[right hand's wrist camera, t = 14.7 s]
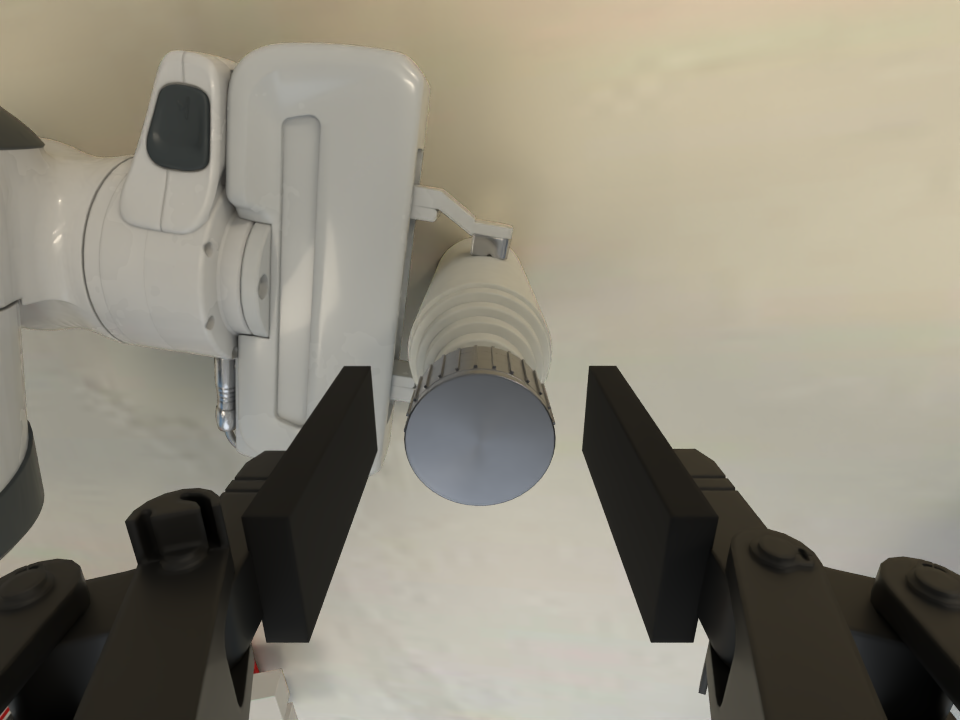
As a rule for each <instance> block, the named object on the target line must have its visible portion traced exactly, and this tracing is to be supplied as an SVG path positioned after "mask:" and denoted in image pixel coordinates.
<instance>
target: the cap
mask: <svg viewBox="0 0 960 720" xmlns="http://www.w3.org/2000/svg"><path fill="white" fill-rule="evenodd" d="M406 416H408V418H407V421H406V425H405V428H404V432H405V437H404V442H405V450H406V455H407V458H408V461H409V463H410V465H411V467H412V469H413V471H414V473H415V474H416V475H417V477H418V478H419V479H420V480H421V481H422V482H423V483H424V484H425V485H426V486H427V487H428V488H429V489H431V490H432V491H433V492H435V493H436V494H438V495H440V496H441V497H444V498H446V499H448V500H451V501H454V502H457V503H461V504H465V505H474V506H486V505H495V504H499V503H503V502H506V501H509V500H512V499H514V498H516V497H518V496H520V495H522V494H523V493H525V492H526V491H528V490H529V489H530V488H532V487H533V486H534V485H535V484H536V483H537V482H538V481H539V480H540V479H541V478H542V476H543V475H544V473H545V472H546V470H547V469H548V467H549V465H550V463H551V460H552V457H553V454H554V449H555V429H554V425H555V421H554V417H553V414H552V410H551V407H550V403H549V400H548V396H547V393H546V390H545V386H544V384H543V383H542V384H541V382H540V380H539V378H538V376H537V372H536V371H535V370H534V371H533V370H532V369H531V367H530V366H529V365H527V364H526V362H525V360H524V359H522V360H521V359H520V358H519V357H517V356H515V355H513V354H512V353H511V352H510V351H508V352H507V351H504V350H502V349H498V348H495V347H494V346H492V347H486V346H477V345H474V346H473V347H466V348H462V349H461V348H457V350H455V351H453V352H450V353H448V354H446V355H445V354H443V355H442V357H441V358H440V359H438V360H437V361H436V362H434V363H433V364H430V365H429V367H428V369H427V371H426V372H425V373H424V375H423V376H420V377H419V380H418V384H417V387H416V390H414V391H413V394H412V398H411V401H410V405H409V408H408V411H407V415H406Z"/></svg>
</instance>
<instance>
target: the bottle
mask: <svg viewBox="0 0 960 720" xmlns="http://www.w3.org/2000/svg"><path fill="white" fill-rule="evenodd" d="M472 238H473V237H471V238H467V239H464V240H461V241H459V242H458V243H456V244H454V245H453V246H452V247H450V248H449V249H448V250H447V251H446V252H445V254H444V255H443V256H442V258H441V260H440V262H439V264H438V266H437V269H436V271H435V274H434V276H433V278H432V281H431V283H430V285H429V288H428V290H427V293H426V295H425V297H424V300H423V302H422V305H421V307H420V309H419V312H418V314H417V316H416V319H415V321H414V324H413V326H412V328H411V331H410V335H409V340H408V360H409V365H410V369H411V373H412V377H413V380H414V382H415V384H416V386H417V384H418V380H419V377H420V376H423V375H424V373H425V372H426V371H427V369H428V367H429V365H430V364H433V363H434V362H436V361H437V360H438V359H440V358H441V357H442V355H443V354H445V355H446V354H448V353H450V352H453V351H455V350H457V348H461V349H462V348H466V347H473V346H474V345H477V346H486V347H492V346H494V347H495V348H498V349H502V350H504V351H507V352H508V351H510V352H511V353H512V354H513V355H515V356H517V357H519V358H520V359H521V360H522V359H524V360H525V362H526V364H527V365H529V366H530V367H531V369H532V370H533V371H534V370H535V371H536V372H537V376H538V378H539V380H540V382H541V384H542V383H543V384H545V381H546V379H547V376H548V372H549V368H550V364H551V358H552V342H551V337H550V332H549V330H548V327H547V324H546V322H545V319H544V317H543V314H542V312H541V310H540V307H539V305H538V303H537V300H536V298H535V296H534V293H533V291H532V288H531V286H530V284H529V281H528V279H527V277H526V274H525V272H524V269H523V267H522V265H521V263H520V261H519V259H518V257H517V256H516V254H515V253H514V252H513V251H512V250H511V249H510V248H509V253H508V258H507V259H506V260H502V259H497V258H493V257H492V256H491V255H490V254H489V255H487V256H477V255H472V254H470V253H471V245H472Z"/></svg>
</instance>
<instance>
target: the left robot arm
mask: <svg viewBox="0 0 960 720" xmlns="http://www.w3.org/2000/svg"><path fill="white" fill-rule="evenodd" d="M430 94H431V91H430V85H429V83H428V81H427V79H426V77H425V75H424V74H423V72H422V71H421V69H420V68H419V67H418V65H417V64H416V63H415V62H414V61H413V60H412V59H411V58H410V57H408V56H407V55H405V54H403V53H400V52H396V51H392V50H387V49H382V48H375V47H367V46H359V45H348V44H336V43H313V42H287V43H275V44H269V45H265V46H262V47H259V48H257V49H255V50H253V51H251V52H249V53H248V54H246V55H245V56H244V57H243V58H242V59H241V60H240V61H239V63H237V62H234V61H231V60H229V59H226V58H223V57H219V56H215V55H211V54H207V53H202V52H195V51H186V50H173V51H170V52H168V53H167V54H166V55H165V56H164V57H163V59H162V60H161V62H160V64H159V67H158V70H157V73H156V77H155V81H154V85H153V89H152V93H151V97H150V101H149V105H148V109H147V113H146V117H145V120H144V124H143V128H142V131H141V135H140V138H139V141H138V145H137V148H136V151H135V154H134V155H124V156H116V157H98V156H93V155H90V154H87V153H85V152H82V151H81V150H78V149H76V148H74V147H72V146H69V145H67V144H64V143H61V142H58V141H55V140H51V139H46V138H41V137H38V136H37V135H36V134H35V133H34V132H33V131H32V130H30V129H29V128H28V127H27V126H26V125H25V124H23V123H22V122H21V121H20V120H18V119H17V118H16V117H14V116H13V115H12V114H10V113H9V112H8V111H6V110H5V109H3V108H2V107H1V106H0V560H1V559H2V558H3V557H4V556H5V555H6V554H7V553H8V552H9V551H10V550H11V549H12V548H13V547H14V546H15V545H16V544H17V543H18V542H19V541H20V539H21V538H22V537H23V536H24V535H25V534H26V533H27V532H28V530H29V529H30V528H31V527H32V525H33V524H34V522H35V521H36V519H37V518H38V516H39V514H40V512H41V509H42V506H43V503H44V489H43V484H42V479H41V473H40V468H39V463H38V458H37V453H36V447H35V442H34V437H33V432H32V429H31V426H30V423H29V421H28V420H27V408H26V394H25V380H24V367H23V353H22V339H21V328H24V329H31V330H42V331H55V330H65V329H74V328H80V329H86V330H90V331H93V332H96V333H98V334H100V335H102V336H104V337H106V338H109V339H111V340H114V341H117V342H120V343H125V344H131V345H136V346H143V347H150V348H156V349H163V350H169V351H176V352H183V353H190V354H197V355H203V356H210V357H214V367H215V385H216V390H217V406H216V422H217V426H218V429H219V430H221V431H225V434H226V437H227V438H228V440H229V441H230V443H231V444H232V445H233V446H234V447H235V448H236V450H237V451H238V452H239V453H240V454H242V455H245V456H248V457H256V456H257V455H259V454H260V453H262V452H264V451H286V450H287V449H288V447H289V446H290V444H291V443H292V441H293V440H294V438H295V437H296V436H297V434H298V433H299V431H300V430H301V428H302V427H303V425H304V424H305V422H306V421H307V419H308V418H309V416H310V415H311V413H312V412H313V411H314V409H315V408H316V406H317V405H318V403H319V402H320V400H321V399H322V397H323V396H324V394H325V393H326V391H327V390H328V388H329V387H330V386H331V384H332V383H333V381H334V380H335V378H336V377H337V375H338V374H339V372H340V371H341V369H342V368H343V366H371V374H372V386H373V398H374V410H375V422H376V434H377V447H378V451H377V454H376V457H375V460H374V463H373V465H372V468H371V471H370V474H369V476H371V475H373V474H375V473H377V472H379V471H380V469H381V467H382V465H383V462H384V460H385V457H386V454H387V450H388V447H389V443H390V436H391V427H392V419H393V410H394V402H395V400H396V401H403V402H410V401H411V398H412V394H413V391H414V390H416V387H417V386H416V384H415V382H414V380H413V377H412V373H411V369H410V365H409V361H403V360H399V359H400V350H401V342H402V333H403V325H404V316H405V308H406V299H407V291H408V282H409V274H410V265H411V256H412V248H413V239H414V231H415V222H416V220H423V221H429V222H434V221H435V220H436V219H437V218H438V217H439V216H440V211H441V212H442V213H444V214H445V215H446V216H447V217H448V218H450V219H451V220H452V221H453V222H455V223H456V224H457V225H458V226H460V227H461V228H462V229H463V230H464V231H466V232H467V233H468V234H469V235H471V236H472V235H473V238H472V245H471V253H470V254H472V255H477V256H487V255H489V254H490V255H491V256H492V257H493V258H497V259H502V260H506V259H507V258H508V253H509V248H510V243H511V237H512V232H513V227H512V226H511V225H508V224H504V223H498V222H492V221H487V220H481V219H475V215H474V214H473V213H471V212H470V211H469V210H468V209H467V208H466V207H464V206H463V205H462V204H461V203H460V202H459V201H457V200H456V199H455V198H454V197H453V196H451V195H450V194H449V193H448V192H447V191H446V190H444V189H442V188H436V187H430V186H425V185H420V180H421V171H422V162H423V154H424V145H425V137H426V128H427V120H428V111H429V102H430ZM235 429H236V436H235V434H234V432H233V430H235Z"/></svg>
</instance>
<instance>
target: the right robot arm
mask: <svg viewBox="0 0 960 720" xmlns="http://www.w3.org/2000/svg"><path fill="white" fill-rule="evenodd" d="M377 451H378V447H377V434H376V422H375V410H374V398H373V386H372V374H371V366H343V368H342V369H341V371H340V372H339V374H338V375H337V377H336V378H335V380H334V381H333V383H332V384H331V386H330V387H329V388H328V390H327V391H326V393H325V394H324V396H323V397H322V399H321V400H320V402H319V403H318V405H317V406H316V408H315V409H314V411H313V412H312V413H311V415H310V416H309V418H308V419H307V421H306V422H305V424H304V425H303V427H302V428H301V430H300V431H299V433H298V434H297V436H296V437H295V438H294V440H293V441H292V443H291V444H290V446H289V447H288V449H287V450H286V451H264V452H262V453H260V454H259V455H257V456H256V457H254V458H253V459H251V460H250V461H248V462H247V463H246V464H245V465H244V466H243V468H242V469H241V470H240V471H239V473H238V474H237V475H236V476H235V480H232V482H231V483H230V484H229V485H228V487H227V488H226V489H225V492H223V493H222V494H221V496H220V497H219V496H218V495H217V494H215V493H214V492H213V491H211V490H206V489H201V488H193V489H181V490H178V491H174V492H170V493H166V494H163V495H161V496H159V497H156V498H154V499H152V500H149V501H147V502H146V503H145V504H143V505H142V506H140V507H139V508H137V509H136V510H134V511H133V512H132V514H131V515H130V516H129V517H128V519H127V520H126V521H125V523H126V527H127V530H128V533H129V537H130V540H131V543H132V546H133V550H134V553H135V556H136V560H137V563H138V566H137V568H136V569H133V570H130V571H126V572H121V573H117V574H112V575H108V576H103V577H98V578H94V579H89V580H85V579H84V576H83V573H82V570H81V567H80V566H79V565H78V564H77V563H75V562H74V561H72V560H65V559H53V560H47V561H41V562H37V563H33V564H30V565H28V566H24V567H21V568H19V569H16V570H14V571H13V572H11V573H9V574H7V575H5V576H3V577H1V578H0V715H1V714H2V713H3V711H4V710H5V709H6V708H7V706H8V708H9V710H10V712H11V714H10V715H9V716H8V718H7V719H6V720H249V713H250V703H251V693H252V683H253V673H254V663H255V661H254V655H253V649H252V644H251V641H252V639H253V637H254V635H255V633H256V631H257V628H258V626H259V624H260V622H261V620H262V622H263V627H264V632H265V637H266V642H267V643H309V641H310V638H311V635H312V633H313V630H314V627H315V624H316V621H317V619H318V616H319V613H320V610H321V607H322V605H323V602H324V599H325V596H326V594H327V591H328V588H329V585H330V582H331V580H332V577H333V574H334V571H335V568H336V566H337V563H338V560H339V557H340V555H341V552H342V549H343V546H344V543H345V541H346V538H347V535H348V532H349V529H350V527H351V524H352V521H353V518H354V516H355V513H356V510H357V507H358V504H359V502H360V499H361V496H362V493H363V490H364V488H365V485H366V482H367V479H368V477H369V474H370V471H371V468H372V465H373V463H374V460H375V457H376V454H377ZM582 451H583V454H584V457H585V460H586V463H587V465H588V468H589V471H590V474H591V477H592V479H593V482H594V485H595V488H596V490H597V493H598V496H599V499H600V502H601V504H602V507H603V510H604V513H605V516H606V518H607V521H608V524H609V527H610V529H611V532H612V535H613V538H614V541H615V543H616V546H617V549H618V552H619V555H620V557H621V560H622V563H623V566H624V568H625V571H626V574H627V577H628V580H629V582H630V585H631V588H632V591H633V594H634V596H635V599H636V602H637V605H638V607H639V610H640V613H641V616H642V619H643V621H644V624H645V627H646V630H647V633H648V635H649V638H650V641H651V643H693V642H694V637H695V632H696V627H697V622H698V618H699V620H700V622H701V624H702V626H703V628H704V630H705V632H706V634H707V636H708V638H709V644H708V649H707V654H706V658H705V663H704V667H703V672H702V676H701V681H700V687H699V693H701V694H706V690H707V686H708V692H709V701H710V711H711V720H957V719H956V718H955V717H954V716H953V714H952V713H951V712H950V710H951V708H952V705H953V704H954V705H955V706H956V708H957V709H958V710H959V711H960V575H958V574H956V573H954V572H952V571H950V570H948V569H947V568H945V567H943V566H940V565H938V564H934V563H932V562H928V561H925V560H921V559H915V558H909V557H894V558H888V559H887V560H885V561H884V562H883V563H881V565H880V567H879V570H878V573H877V576H876V578H872V577H867V576H863V575H858V574H853V573H849V572H844V571H840V570H835V569H831V568H828V567H824V566H823V565H822V563H821V562H820V560H819V559H818V557H817V556H816V554H815V553H814V552H813V551H812V550H810V549H809V548H808V547H807V546H805V545H804V544H803V543H802V542H800V541H798V540H796V539H794V538H792V537H790V536H788V535H786V534H784V533H780V532H777V531H773V530H770V529H767V527H766V526H765V525H764V524H763V522H762V521H761V520H760V519H759V517H758V516H757V515H756V513H755V512H754V511H753V510H752V508H751V507H750V506H749V505H748V503H747V502H746V501H745V500H744V498H743V497H742V496H741V495H740V493H739V492H738V491H735V487H734V486H733V484H732V483H731V482H730V481H729V479H728V478H726V477H725V474H724V473H723V472H722V471H721V469H720V468H719V467H718V466H717V464H716V463H715V462H714V461H713V460H711V459H710V458H708V457H707V456H705V455H704V454H702V453H701V452H699V451H698V450H696V449H672V447H671V446H670V444H669V443H668V441H667V440H666V438H665V437H664V436H663V434H662V433H661V431H660V430H659V428H658V427H657V425H656V424H655V422H654V421H653V419H652V418H651V416H650V415H649V413H648V412H647V411H646V409H645V408H644V406H643V405H642V403H641V402H640V400H639V399H638V397H637V396H636V394H635V393H634V391H633V390H632V388H631V387H630V386H629V384H628V383H627V381H626V380H625V378H624V377H623V375H622V374H621V372H620V371H619V369H618V368H617V366H589V374H588V386H587V398H586V410H585V422H584V434H583V447H582Z"/></svg>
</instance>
